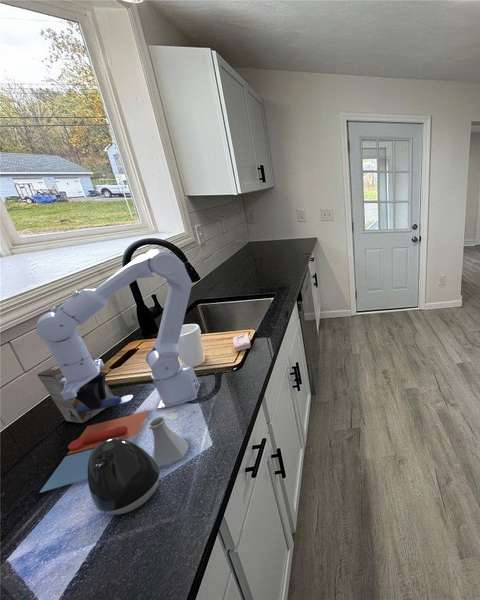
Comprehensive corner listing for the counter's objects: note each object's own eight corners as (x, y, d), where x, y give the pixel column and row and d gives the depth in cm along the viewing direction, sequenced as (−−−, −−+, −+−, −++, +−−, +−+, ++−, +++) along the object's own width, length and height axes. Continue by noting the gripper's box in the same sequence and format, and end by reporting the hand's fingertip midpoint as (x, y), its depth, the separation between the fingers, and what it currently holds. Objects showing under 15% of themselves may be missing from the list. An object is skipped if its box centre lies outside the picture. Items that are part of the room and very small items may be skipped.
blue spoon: (74, 418, 78) (70, 411, 77) (82, 409, 81) (78, 402, 80) (131, 404, 81) (128, 397, 81) (136, 395, 85) (133, 389, 84)
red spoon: (131, 427, 82) (127, 420, 81) (125, 436, 79) (122, 430, 78) (74, 442, 78) (70, 435, 78) (66, 453, 75) (61, 446, 74)
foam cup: (199, 369, 106) (187, 336, 101) (173, 371, 107) (159, 337, 102) (215, 354, 115) (204, 323, 110) (190, 355, 115) (179, 324, 110)
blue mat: (136, 438, 79) (135, 436, 79) (120, 469, 70) (119, 468, 70) (66, 457, 75) (65, 456, 74) (39, 494, 66) (38, 492, 66)
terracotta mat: (149, 411, 88) (149, 410, 88) (137, 436, 80) (136, 435, 79) (88, 427, 84) (87, 426, 84) (67, 456, 75) (66, 454, 75)
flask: (149, 473, 69) (132, 439, 65) (156, 449, 75) (140, 417, 71) (187, 459, 72) (173, 425, 68) (190, 437, 78) (177, 406, 74)
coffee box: (100, 399, 94) (76, 354, 88) (117, 401, 93) (94, 355, 87) (65, 422, 86) (35, 373, 80) (83, 424, 85) (54, 375, 79)
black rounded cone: (93, 535, 57) (53, 476, 52) (114, 487, 66) (82, 433, 61) (158, 510, 61) (128, 453, 55) (170, 468, 70) (145, 415, 64)
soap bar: (235, 352, 115) (233, 346, 114) (234, 342, 123) (232, 336, 122) (251, 348, 117) (249, 342, 117) (249, 338, 125) (247, 332, 124)
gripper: (70, 349, 80) (93, 392, 85) (32, 381, 68) (62, 428, 73) (103, 342, 82) (124, 384, 88) (73, 372, 70) (99, 419, 75)
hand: (98, 404), depth 80 cm, fingers closed on blue spoon, 2 cm apart
